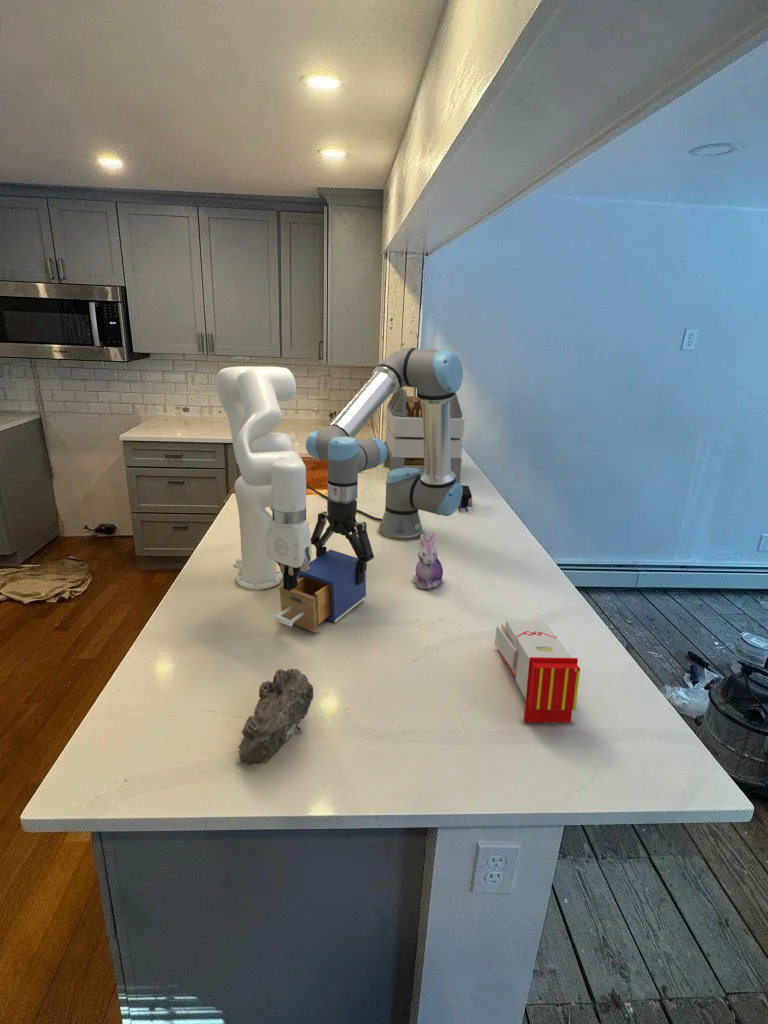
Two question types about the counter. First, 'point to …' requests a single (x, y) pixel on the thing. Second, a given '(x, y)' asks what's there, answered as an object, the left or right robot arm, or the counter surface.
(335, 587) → the cabinet
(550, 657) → the toy
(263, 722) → the fossil
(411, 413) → the grey wooden crate
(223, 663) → the counter surface
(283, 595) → the drawer
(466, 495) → the figurine character
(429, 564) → the figurine
